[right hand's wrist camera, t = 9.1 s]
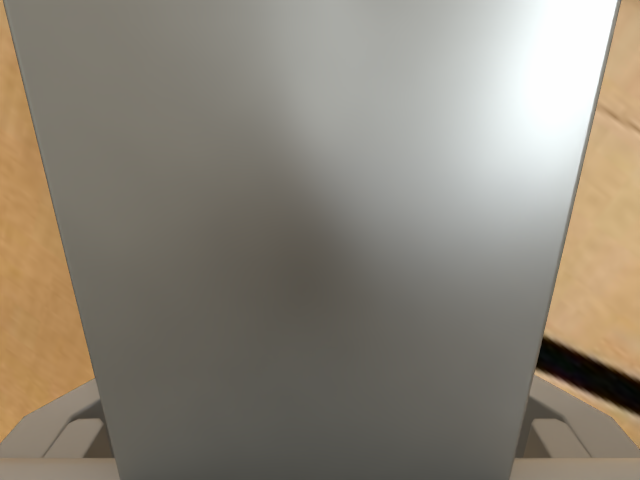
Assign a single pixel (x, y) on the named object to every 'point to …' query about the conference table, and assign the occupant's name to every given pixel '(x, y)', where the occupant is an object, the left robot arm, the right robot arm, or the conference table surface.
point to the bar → (313, 221)
